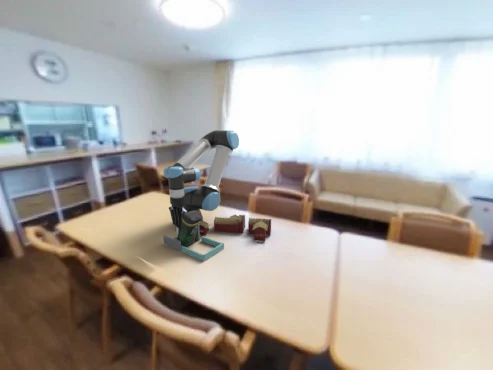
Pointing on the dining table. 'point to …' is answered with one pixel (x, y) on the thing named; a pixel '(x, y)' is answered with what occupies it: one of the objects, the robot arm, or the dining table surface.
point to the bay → (176, 243)
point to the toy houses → (239, 226)
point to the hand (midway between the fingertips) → (179, 237)
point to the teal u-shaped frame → (203, 257)
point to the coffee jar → (189, 227)
